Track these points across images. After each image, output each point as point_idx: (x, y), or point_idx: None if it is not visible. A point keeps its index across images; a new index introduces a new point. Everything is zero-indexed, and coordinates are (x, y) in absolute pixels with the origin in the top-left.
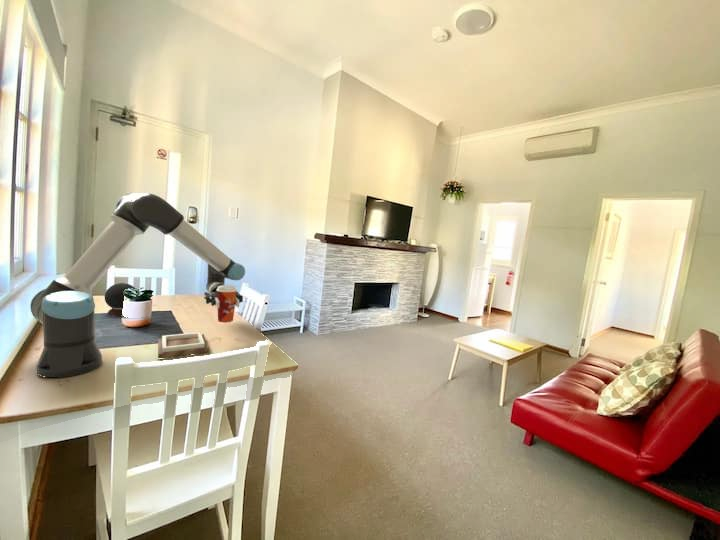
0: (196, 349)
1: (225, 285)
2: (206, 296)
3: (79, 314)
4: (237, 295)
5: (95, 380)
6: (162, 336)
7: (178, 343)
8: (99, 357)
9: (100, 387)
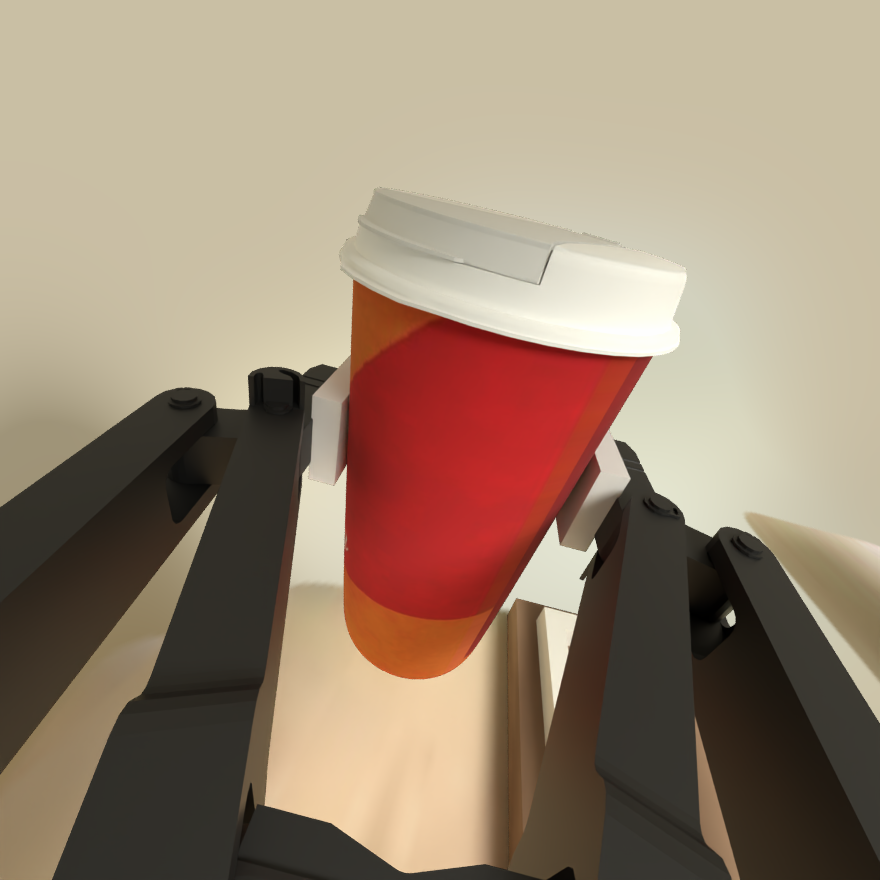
0: (575, 614)
1: (540, 240)
2: (813, 624)
3: None
4: (290, 371)
5: (845, 610)
6: None
7: (703, 788)
8: None
9: (791, 561)
